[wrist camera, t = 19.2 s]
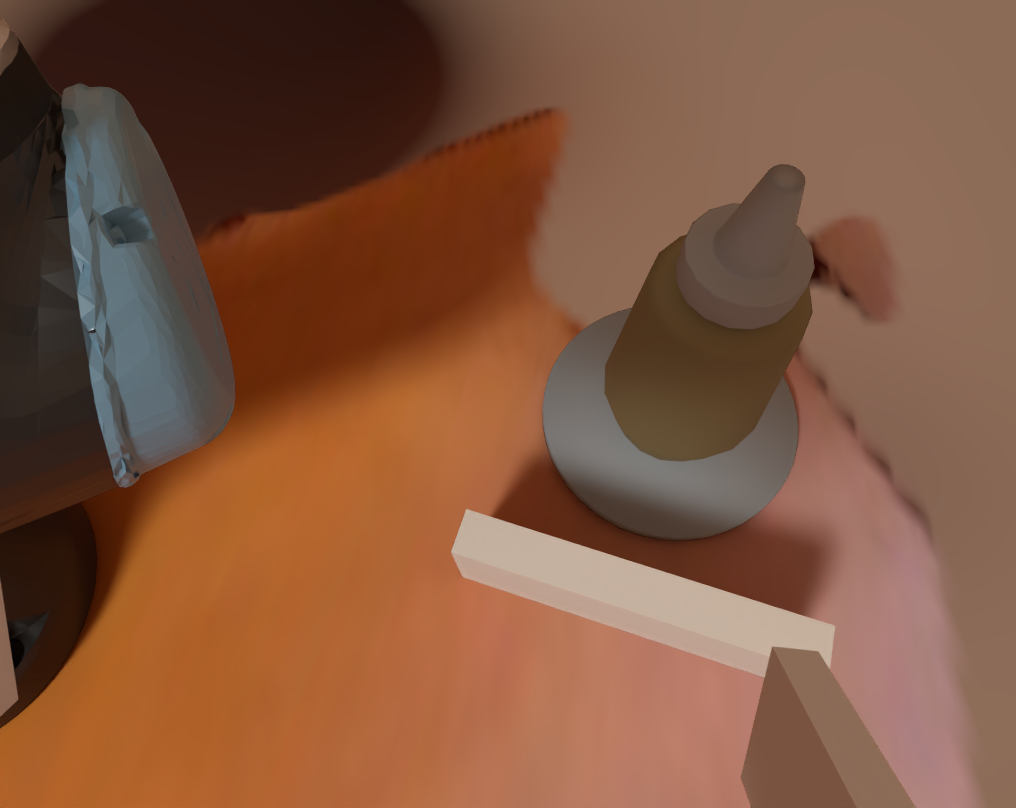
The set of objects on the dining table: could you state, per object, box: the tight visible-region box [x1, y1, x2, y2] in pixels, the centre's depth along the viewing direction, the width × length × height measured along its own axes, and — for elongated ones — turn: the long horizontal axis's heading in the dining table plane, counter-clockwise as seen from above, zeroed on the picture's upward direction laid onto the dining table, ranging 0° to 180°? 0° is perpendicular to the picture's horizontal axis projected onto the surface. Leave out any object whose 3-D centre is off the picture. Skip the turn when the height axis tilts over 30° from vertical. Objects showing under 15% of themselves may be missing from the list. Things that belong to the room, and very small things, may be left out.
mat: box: [543, 308, 798, 541], centre depth 37 cm, size 14×14×1 cm
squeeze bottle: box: [604, 164, 815, 462], centre depth 29 cm, size 8×8×18 cm
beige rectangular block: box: [451, 509, 835, 678], centre depth 31 cm, size 16×2×6 cm, turn 72°
